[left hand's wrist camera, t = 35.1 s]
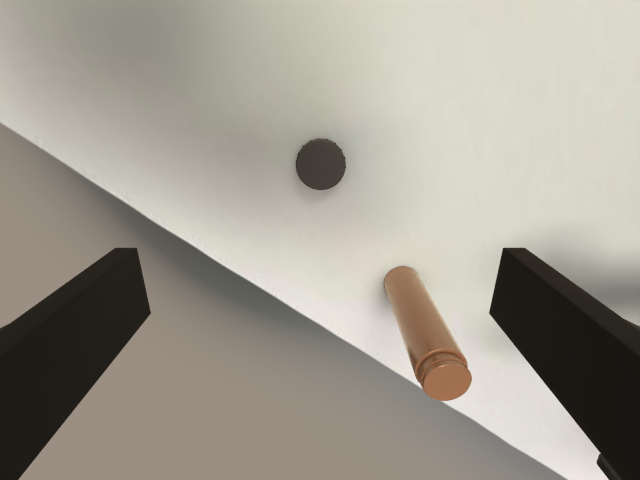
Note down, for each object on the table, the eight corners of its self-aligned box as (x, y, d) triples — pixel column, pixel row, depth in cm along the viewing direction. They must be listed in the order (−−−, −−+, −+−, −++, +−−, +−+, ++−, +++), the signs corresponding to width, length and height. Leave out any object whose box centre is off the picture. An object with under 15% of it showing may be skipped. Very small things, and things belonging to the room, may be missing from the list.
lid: (354, 157, 39) (356, 159, 37) (326, 195, 40) (326, 199, 39) (315, 127, 37) (314, 129, 36) (287, 169, 39) (286, 172, 38)
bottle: (397, 303, 46) (438, 412, 30) (377, 279, 44) (409, 380, 28) (426, 284, 45) (485, 386, 29) (406, 259, 43) (457, 352, 27)
